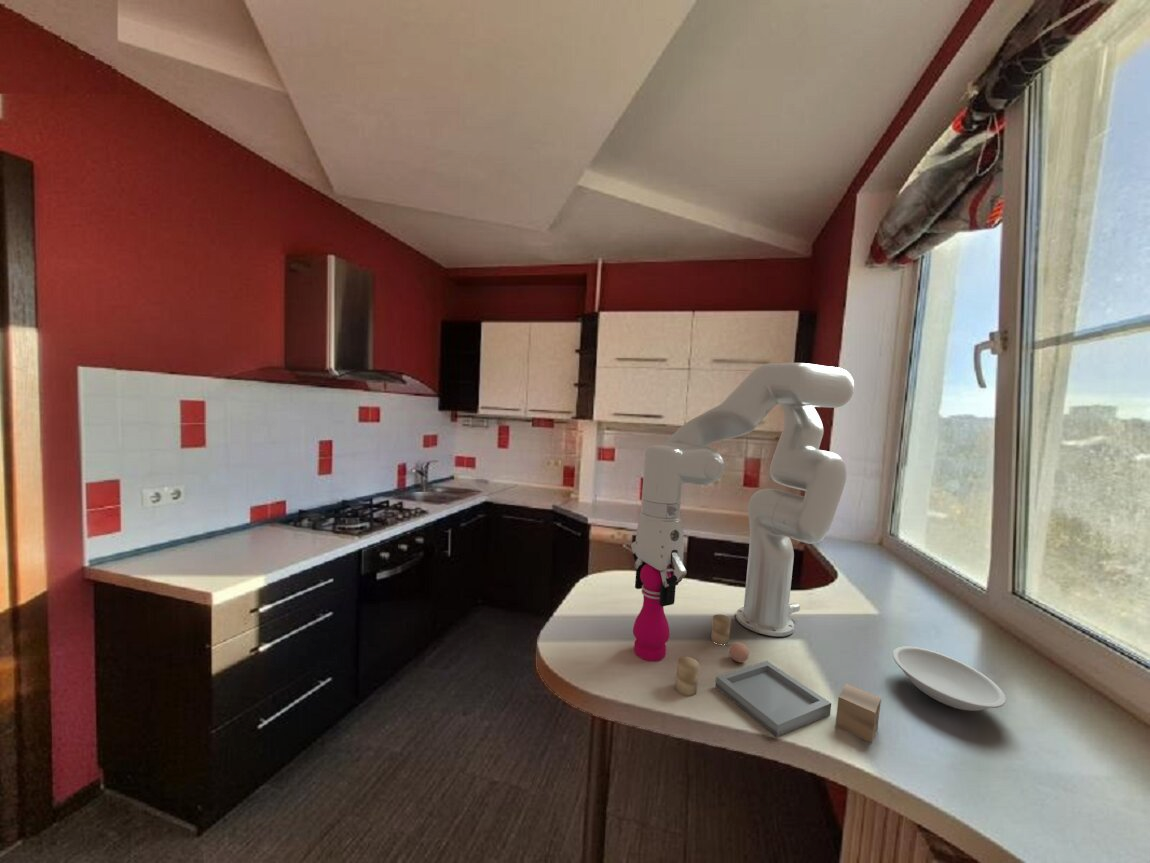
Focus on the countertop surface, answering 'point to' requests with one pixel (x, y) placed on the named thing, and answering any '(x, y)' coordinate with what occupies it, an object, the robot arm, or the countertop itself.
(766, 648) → the countertop surface
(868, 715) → the walnut block
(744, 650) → the ball
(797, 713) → the tray
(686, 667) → the cork
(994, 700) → the dish
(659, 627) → the pepper mill
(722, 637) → the cork
